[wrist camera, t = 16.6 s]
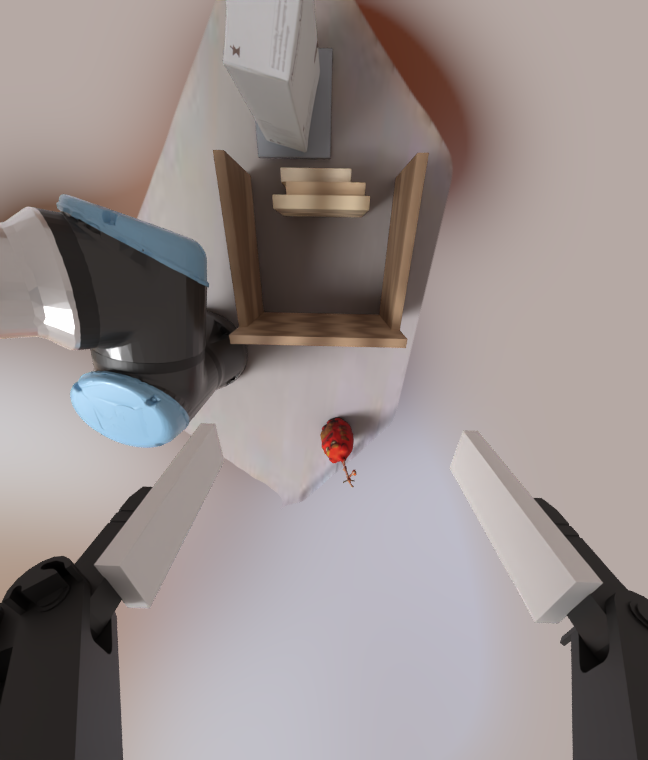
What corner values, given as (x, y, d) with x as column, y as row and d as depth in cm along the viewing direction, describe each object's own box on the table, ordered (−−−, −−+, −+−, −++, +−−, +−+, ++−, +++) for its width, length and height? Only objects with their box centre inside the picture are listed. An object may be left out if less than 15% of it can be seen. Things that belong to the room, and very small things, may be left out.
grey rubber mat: (259, 157, 34) (258, 156, 34) (250, 50, 30) (249, 47, 29) (330, 158, 34) (330, 157, 34) (332, 51, 30) (332, 48, 29)
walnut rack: (257, 318, 45) (230, 343, 33) (242, 175, 35) (194, 134, 23) (384, 321, 45) (405, 347, 32) (403, 178, 35) (444, 137, 23)
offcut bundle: (283, 215, 38) (273, 208, 31) (281, 178, 35) (270, 160, 28) (361, 217, 37) (368, 209, 30) (364, 179, 35) (373, 161, 28)
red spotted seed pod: (332, 410, 54) (333, 462, 41) (358, 423, 56) (367, 477, 42) (316, 433, 57) (311, 488, 44) (341, 445, 59) (344, 501, 46)
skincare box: (306, 154, 34) (292, 91, 21) (263, 140, 33) (219, 67, 20) (321, 67, 30) (314, -79, 17) (272, 49, 29) (225, -115, 16)
